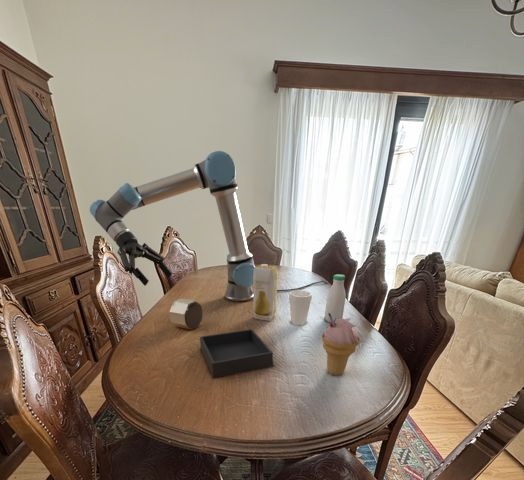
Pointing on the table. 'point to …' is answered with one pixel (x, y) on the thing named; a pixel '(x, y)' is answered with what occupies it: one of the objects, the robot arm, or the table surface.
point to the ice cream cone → (339, 344)
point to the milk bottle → (336, 299)
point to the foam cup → (299, 306)
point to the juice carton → (264, 292)
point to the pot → (186, 313)
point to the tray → (235, 352)
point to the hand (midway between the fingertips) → (159, 279)
